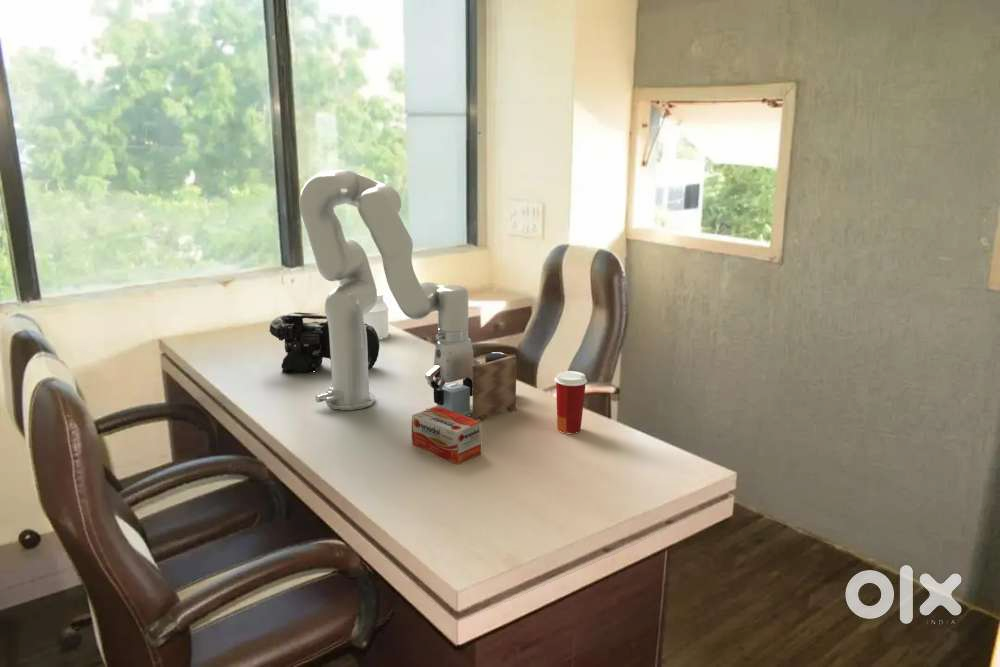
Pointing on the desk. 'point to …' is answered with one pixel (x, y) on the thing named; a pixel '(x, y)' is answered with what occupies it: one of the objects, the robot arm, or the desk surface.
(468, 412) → the pad
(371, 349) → the movie camera
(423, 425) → the medicine box
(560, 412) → the paper cup
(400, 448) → the desk surface
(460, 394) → the letter cube
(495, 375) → the screen
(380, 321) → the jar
